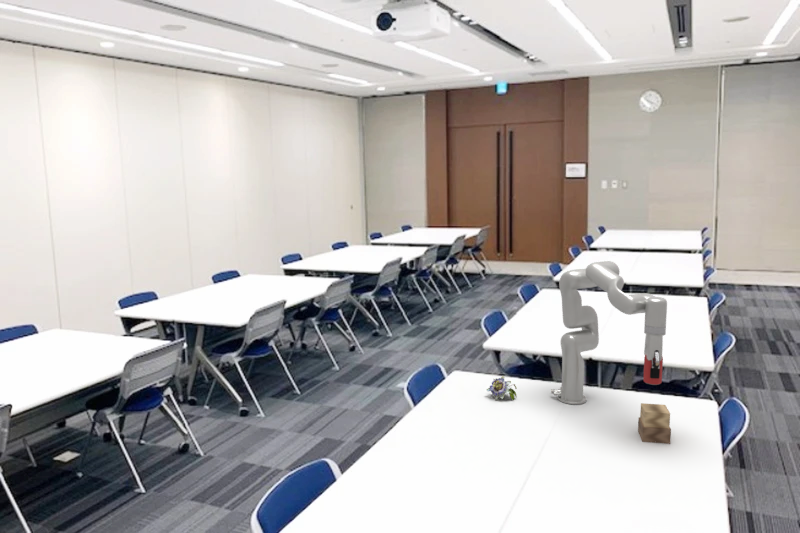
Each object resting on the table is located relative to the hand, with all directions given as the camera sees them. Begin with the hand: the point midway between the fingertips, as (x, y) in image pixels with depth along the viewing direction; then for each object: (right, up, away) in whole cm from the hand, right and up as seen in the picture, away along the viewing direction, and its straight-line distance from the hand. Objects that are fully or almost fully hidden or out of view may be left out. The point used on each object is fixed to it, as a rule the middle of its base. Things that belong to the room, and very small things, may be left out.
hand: (652, 374), depth 239 cm
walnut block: (+2, -25, +3) cm, 25 cm away
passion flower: (-50, -19, +47) cm, 71 cm away
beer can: (0, -3, 0) cm, 3 cm away
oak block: (+2, -19, +2) cm, 19 cm away
